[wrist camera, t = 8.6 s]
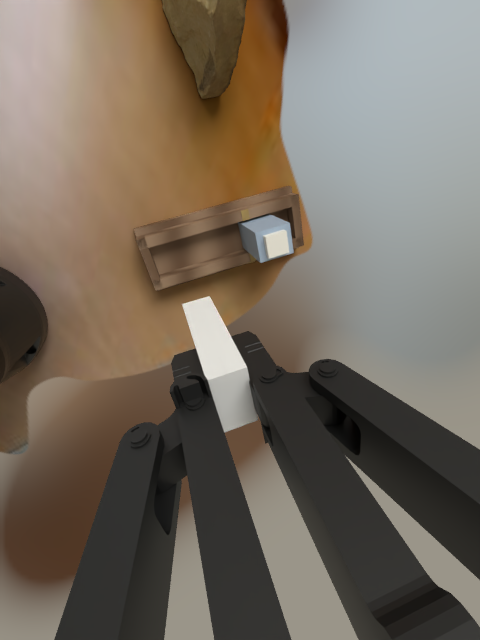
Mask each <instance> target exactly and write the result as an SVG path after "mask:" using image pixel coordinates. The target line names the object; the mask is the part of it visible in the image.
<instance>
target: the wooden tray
mask: <svg viewBox="0 0 480 640" xmlns="http://www.w3.org/2000/svg"><path fill="white" fill-rule="evenodd" d="M265 214H270V215H273V216H275V217H277V218H280V219H282V220H284V221H287V222H289V223H290V228H291V236H292V244H293V249H296V248H299V247H300V246H303V245H304V243H303V233H302V224H301V214H300V205H299V196H298V194H294V193H292V187H291V186H286V187H282V188H279V189H275V190H271V191H268V192H264V193H260V194H257V195H253V196H250V197H246V198H242V199H239V200H235V201H232V202H228V203H224V204H221V205H217V206H213V207H210V208H206V209H203V210H199V211H195V212H192V213H188V214H184V215H181V216H177V217H174V218H170V219H166V220H163V221H159V222H156V223H152V224H148V225H145V226H141V227H137V228H134V232H135V235H136V242H137V244H138V247H139V249H140V252H141V255H142V257H143V260H144V262H145V265H146V267H147V270H148V273H149V275H150V278H151V280H152V283H153V285H154V288H155V291H156V290H157V291H159V290H162V289H166V288H169V287H172V286H175V285H179V284H182V283H185V282H188V281H192V280H195V279H198V278H201V277H205V276H208V275H211V274H214V273H218V272H221V271H224V270H227V269H231V268H234V267H237V266H240V265H244V264H247V263H248V264H249V263H252V262H254V261H257V259H255V258H254V257H253V256H252V255H251V254H250V253H249V252H247V251H246V250H245V249H244V248H243V245H242V240H241V235H240V231H239V226H238V222H241V221H245V220H249V219H251V218H255V217H258V216H262V215H265Z"/></svg>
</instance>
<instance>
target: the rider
mask: <svg viewBox="0 0 480 640" xmlns="http://www.w3.org/2000/svg"><path fill="white" fill-rule="evenodd" d="M238 226H239V231H240V235H241V240H242V245H243V248H244V249H245V250H246V251H247V252H249V253H250V254H251V255H252V256H253V257H254V258H255V259H257V260H258V261H259V262H260V263H263V262H266V261H269V260H272V259H276V258H279V257H282V256H285V255H289V254H292V253H294V252H293V244H292V236H291V228H290V223H289V222H287V221H284V220H282V219H280V218H277V217H275V216H273V215H270V214H265V215H262V216H258V217H255V218H251V219H249V220H245V221H241V222H238Z"/></svg>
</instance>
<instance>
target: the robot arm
mask: <svg viewBox="0 0 480 640" xmlns="http://www.w3.org/2000/svg"><path fill="white" fill-rule="evenodd" d="M182 305H183V308H184V312H185V315H186V318H187V321H188V324H189V328H190V331H191V334H192V337H193V341H194V344H195V347H196V349H193V350H190V351H186V352H183V353H180V354H177V355H175V356H174V358H173V360H172V363H171V365H172V370H173V376H174V382H173V384H172V385H171V387H170V394H171V396H172V399H173V401H174V404H175V406H176V410H175V411H174V413H173V414H172V415H171V416H170V417H169V418H168V419H167V420H165V421H164V422H162V423H160V424H159V425H156V424H153V423H150V422H148V423H141V424H138V425H136V426H134V427H132V428H131V429H129V430H128V431H127V433H125V434H124V436H123V437H122V439H121V441H120V444H119V447H118V450H117V453H116V456H115V459H114V462H113V465H112V468H111V471H110V474H109V477H108V480H107V483H106V486H105V489H104V492H103V495H102V498H101V501H100V504H99V507H98V510H97V513H96V516H95V519H94V522H93V525H92V528H91V531H90V534H89V537H88V540H87V543H86V546H85V549H84V552H83V555H82V558H81V561H80V564H79V567H78V570H77V573H76V576H75V579H74V582H73V586H72V588H71V591H70V594H69V597H68V600H67V603H66V606H65V609H64V612H63V615H62V618H61V621H60V624H59V627H58V630H57V633H56V637H55V640H164V635H165V626H166V617H167V608H168V599H169V590H170V581H171V573H172V563H173V554H174V546H175V537H176V528H177V518H178V509H179V501H180V492H181V484H182V483H181V479H182V478H184V477H185V476H186V475H187V476H188V481H189V488H190V494H191V500H192V505H193V512H194V518H195V524H196V531H197V537H198V543H199V548H200V555H201V561H202V567H203V573H204V579H205V585H206V591H207V597H208V604H209V609H210V615H211V622H212V627H213V634H214V640H291V637H290V634H289V631H288V628H287V625H286V622H285V619H284V616H283V612H282V609H281V606H280V603H279V600H278V597H277V594H276V591H275V588H274V585H273V582H272V579H271V575H270V572H269V569H268V566H267V563H266V560H265V557H264V554H263V551H262V548H261V545H260V541H259V538H258V535H257V532H256V529H255V526H254V523H253V520H252V517H251V514H250V511H249V507H248V504H247V501H246V498H245V495H244V492H243V489H242V486H241V483H240V480H239V477H238V474H237V471H236V467H235V464H234V461H233V458H232V455H231V452H230V449H229V446H228V443H227V440H226V436H225V433H224V432H227V431H230V430H232V429H235V428H238V427H240V426H243V425H246V424H249V423H251V422H254V421H257V420H258V416H259V418H260V421H261V425H262V430H263V434H264V439H265V443H269V445H270V448H271V450H272V452H273V454H274V456H275V458H276V461H277V463H278V465H279V467H280V469H281V471H282V474H283V476H284V478H285V480H286V482H287V485H288V487H289V489H290V491H291V493H292V495H293V498H294V500H295V502H296V504H297V506H298V508H299V511H300V513H301V515H302V517H303V519H304V522H305V524H306V526H307V528H308V530H309V532H310V535H311V537H312V539H313V541H314V543H315V546H316V548H317V550H318V552H319V554H320V556H321V559H322V561H323V563H324V565H325V567H326V570H327V572H328V574H329V576H330V578H331V580H332V583H333V585H334V587H335V589H336V591H337V593H338V596H339V598H340V600H341V602H342V604H343V607H344V609H345V611H346V613H347V615H348V617H349V620H350V622H351V624H352V626H353V628H354V630H355V633H356V635H357V637H358V639H359V640H480V627H479V626H478V624H477V623H476V622H475V620H474V619H473V618H472V616H471V615H470V614H469V613H468V612H467V610H466V609H465V608H464V606H463V605H462V604H461V603H460V602H459V601H458V600H457V599H456V598H455V597H454V596H453V595H452V594H451V593H449V592H447V591H445V590H443V589H442V588H440V587H438V586H437V585H436V584H435V583H434V582H433V581H432V579H431V578H430V577H429V575H428V574H427V573H426V571H425V570H424V569H423V567H422V566H421V564H420V563H419V561H418V560H417V559H416V557H415V556H414V554H413V553H412V551H411V550H410V548H409V547H408V546H407V544H406V543H405V541H404V540H403V538H402V537H401V536H400V534H399V533H398V531H397V530H396V528H395V527H394V525H393V524H392V523H391V521H390V520H389V518H388V517H387V515H386V514H385V513H384V511H383V510H382V508H381V507H380V505H379V504H378V502H377V501H376V500H375V498H374V497H373V495H372V494H371V492H370V491H369V490H368V488H367V487H366V485H365V484H364V482H363V481H362V480H361V478H360V477H359V475H358V474H357V472H356V471H355V470H354V468H353V467H352V465H351V464H350V462H349V461H348V459H347V458H346V457H345V455H346V456H347V457H348V458H349V459H350V460H351V461H352V462H353V463H354V464H355V465H356V466H357V467H358V468H360V469H361V470H362V471H363V472H364V473H365V474H366V475H367V476H368V477H369V478H370V479H372V481H374V482H375V483H376V484H377V485H378V486H379V487H380V488H381V489H382V490H383V491H385V493H387V494H388V495H389V496H390V497H391V498H392V499H393V500H394V501H395V502H396V503H397V504H399V505H400V506H401V507H402V508H403V509H404V510H405V511H406V512H407V513H408V514H409V515H410V516H411V517H412V518H414V519H415V520H416V521H417V522H418V523H419V524H420V525H421V526H422V527H423V528H424V529H425V530H426V531H428V532H429V533H430V534H431V535H432V536H433V537H434V538H435V539H436V540H437V541H438V542H439V543H441V544H442V545H443V546H444V547H445V548H446V549H447V550H448V551H449V552H450V553H451V554H452V555H453V556H455V557H456V558H457V559H458V560H459V561H460V562H461V563H462V564H463V565H464V566H466V568H468V569H469V570H470V571H471V572H472V573H473V574H474V575H475V576H476V577H477V578H478V579H480V450H479V449H478V448H476V447H475V446H473V445H471V444H470V443H468V442H467V441H465V440H463V439H462V438H460V437H459V436H457V435H455V434H454V433H452V432H451V431H449V430H447V429H446V428H444V427H442V426H441V425H439V424H438V423H436V422H435V421H433V420H431V419H430V418H428V417H427V416H425V415H424V414H422V413H420V412H419V411H417V410H416V409H414V408H412V407H411V406H409V405H408V404H406V403H404V402H403V401H401V400H400V399H398V398H396V397H395V396H393V395H392V394H390V393H388V392H387V391H385V390H384V389H382V388H380V387H379V386H377V385H376V384H374V383H372V382H371V381H369V380H367V379H366V378H365V377H363V376H361V375H360V374H358V373H357V372H355V371H353V370H351V369H350V368H348V367H347V366H345V365H344V364H342V363H340V362H338V361H336V360H331V359H324V360H319V361H316V362H315V363H313V364H312V365H311V366H310V369H309V372H303V373H289V372H286V371H285V370H284V369H283V368H282V367H279V366H276V364H275V363H274V362H273V360H272V358H271V357H270V355H269V354H268V353H267V351H266V350H265V348H264V347H263V345H262V343H260V341H259V339H258V338H257V336H256V335H254V334H253V333H251V332H249V331H247V332H244V333H241V334H237V335H234V336H230V334H229V332H228V330H227V328H226V326H225V324H224V322H223V321H222V319H221V317H220V315H219V313H218V311H217V309H216V307H215V305H214V304H213V302H212V300H211V298H210V296H208V297H205V298H201V299H198V300H194V301H191V302H188V303H184V304H182ZM47 326H48V324H47V316H46V313H45V310H44V307H43V305H42V303H41V301H40V300H39V298H38V297H37V295H36V294H35V293H34V292H33V290H32V289H31V288H30V287H29V286H28V285H27V284H26V283H24V282H23V281H22V280H21V279H19V278H18V277H17V276H15V275H14V274H12V273H11V272H9V271H7V270H5V269H3V268H1V267H0V384H1V383H2V382H4V381H5V380H7V379H8V378H10V377H11V376H13V375H15V374H16V373H18V372H19V371H21V370H22V369H24V368H25V367H26V366H27V365H28V364H29V363H31V362H32V360H33V359H34V358H35V357H36V355H37V354H38V352H39V350H40V349H41V347H42V345H43V343H44V341H45V338H46V335H47ZM257 414H258V416H257Z"/></svg>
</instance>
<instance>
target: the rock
mask: <svg viewBox="0 0 480 640" xmlns="http://www.w3.org/2000/svg"><path fill="white" fill-rule="evenodd" d="M246 1H247V0H162V2H163V6H162V7H163V10H164V12H165V14H166V17H167V19H168V22H169V25H170V28H171V31H172V33H173V34H174V36H175V38H176V41H177V43H178V44H179V46H181V48H182V51H183V53H184V55H185V59H186V61H187V63H188V65H189V66H190V67H191V69H192V70H193V72H194V74H195V78H196V83H197V89H198V92H199V94H200V96H201V98H202V99H205V98H210V97H216V96H220V95H221V94H222V93H223V92H224V91H225V89H226V88H227V87H228V85H229V84H230V80H231V76H232V73H233V69H234V67H235V66H236V62H237V58H238V50H239V46H240V44H241V36H242V33H243V28H244V22H245V6H246Z"/></svg>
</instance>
